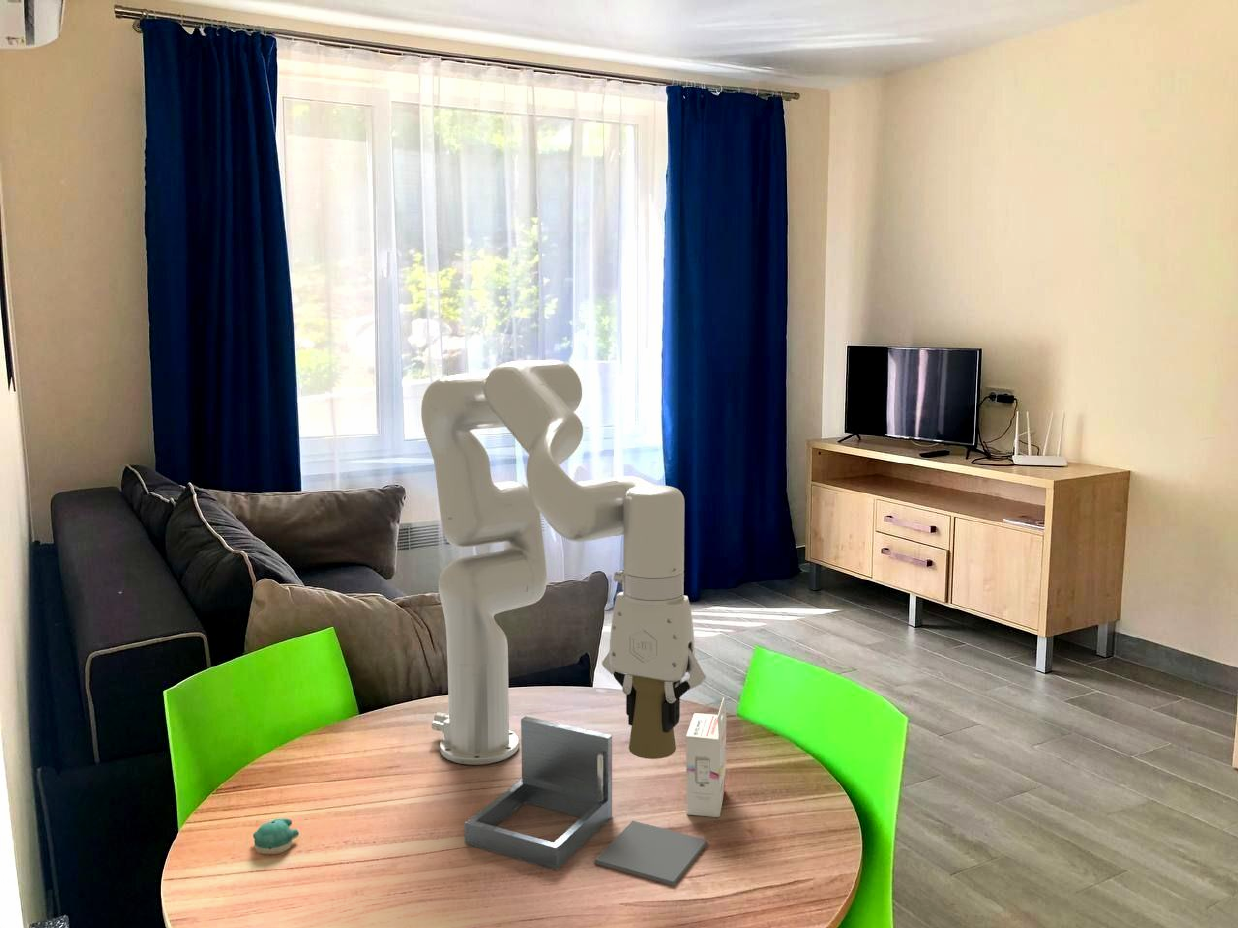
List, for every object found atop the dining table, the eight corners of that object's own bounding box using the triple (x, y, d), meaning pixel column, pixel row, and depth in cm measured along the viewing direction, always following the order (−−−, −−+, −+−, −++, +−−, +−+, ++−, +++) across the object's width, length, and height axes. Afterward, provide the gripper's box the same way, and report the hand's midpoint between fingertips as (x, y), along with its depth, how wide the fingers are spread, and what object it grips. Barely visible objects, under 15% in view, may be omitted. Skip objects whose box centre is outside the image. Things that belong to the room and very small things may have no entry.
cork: (681, 741, 130) (682, 660, 128) (668, 761, 124) (669, 676, 122) (637, 735, 132) (637, 655, 130) (622, 754, 126) (622, 670, 124)
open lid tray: (465, 843, 132) (463, 757, 131) (526, 794, 146) (525, 716, 144) (556, 870, 126) (555, 780, 124) (612, 816, 140) (612, 734, 138)
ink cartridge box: (692, 786, 148) (693, 691, 146) (725, 789, 147) (727, 694, 145) (684, 815, 140) (685, 714, 138) (719, 818, 139) (721, 717, 137)
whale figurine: (246, 859, 129) (244, 831, 129) (261, 830, 136) (260, 803, 136) (292, 857, 130) (291, 829, 129) (305, 828, 137) (304, 802, 136)
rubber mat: (594, 863, 128) (594, 859, 128) (632, 824, 137) (632, 820, 137) (673, 885, 123) (673, 881, 123) (707, 843, 133) (707, 839, 132)
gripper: (579, 584, 125) (580, 723, 128) (704, 601, 118) (702, 749, 120) (607, 570, 132) (607, 703, 135) (727, 586, 124) (725, 726, 127)
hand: (652, 723), depth 127 cm, fingers closed on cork, 4 cm apart
